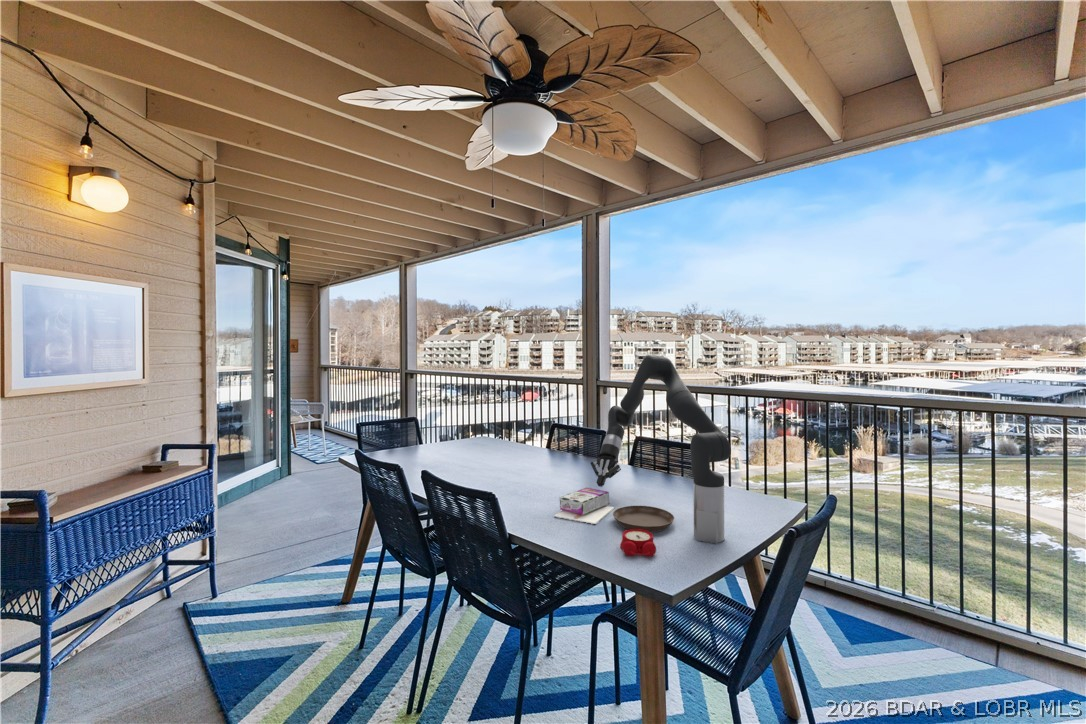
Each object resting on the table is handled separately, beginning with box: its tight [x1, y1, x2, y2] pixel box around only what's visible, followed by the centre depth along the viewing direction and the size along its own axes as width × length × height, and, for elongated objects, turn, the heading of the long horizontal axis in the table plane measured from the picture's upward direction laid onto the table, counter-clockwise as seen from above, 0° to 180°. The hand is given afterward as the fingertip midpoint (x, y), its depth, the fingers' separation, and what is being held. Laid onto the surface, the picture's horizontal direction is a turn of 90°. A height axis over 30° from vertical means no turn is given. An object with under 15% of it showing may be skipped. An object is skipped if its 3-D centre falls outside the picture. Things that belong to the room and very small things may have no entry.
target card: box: [554, 505, 615, 525], centre depth 172 cm, size 18×16×1 cm
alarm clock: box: [619, 529, 657, 558], centre depth 140 cm, size 10×6×15 cm
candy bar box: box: [559, 487, 610, 515], centre depth 176 cm, size 11×5×16 cm
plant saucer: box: [612, 505, 675, 533], centre depth 161 cm, size 21×21×3 cm
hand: (599, 485), depth 181 cm, fingers closed
